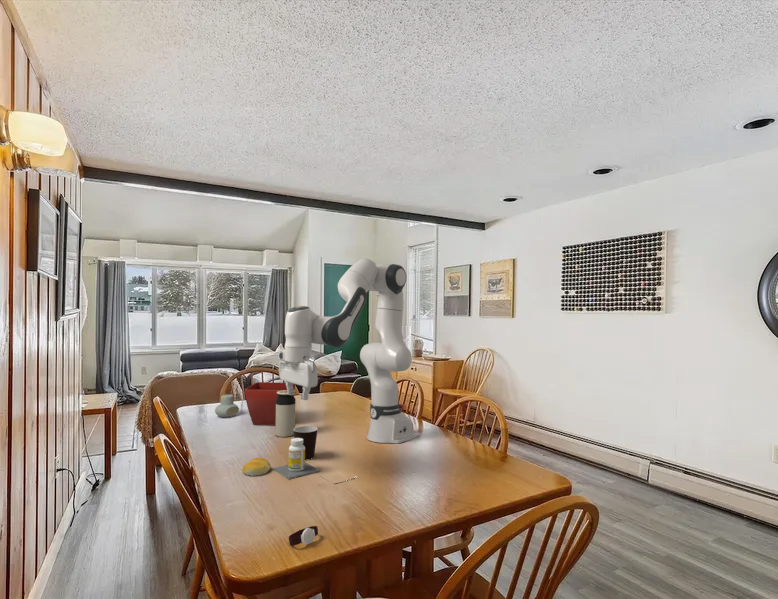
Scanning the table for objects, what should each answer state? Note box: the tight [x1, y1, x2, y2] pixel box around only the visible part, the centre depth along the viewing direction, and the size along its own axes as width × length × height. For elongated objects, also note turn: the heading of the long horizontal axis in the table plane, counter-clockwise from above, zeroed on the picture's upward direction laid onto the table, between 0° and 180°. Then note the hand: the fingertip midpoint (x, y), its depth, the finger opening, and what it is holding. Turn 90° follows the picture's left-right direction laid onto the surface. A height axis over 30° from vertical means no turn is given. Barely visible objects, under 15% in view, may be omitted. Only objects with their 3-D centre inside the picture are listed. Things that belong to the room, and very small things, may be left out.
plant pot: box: [244, 381, 296, 426], centre depth 211 cm, size 19×19×17 cm
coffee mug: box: [293, 425, 318, 461], centre depth 165 cm, size 12×9×10 cm
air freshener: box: [214, 394, 240, 419], centre depth 221 cm, size 11×8×10 cm
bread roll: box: [241, 457, 271, 477], centre depth 149 cm, size 8×9×4 cm
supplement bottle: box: [287, 437, 306, 471], centre depth 150 cm, size 5×5×10 cm
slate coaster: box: [272, 461, 320, 480], centre depth 150 cm, size 11×11×1 cm
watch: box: [288, 525, 319, 546], centre depth 105 cm, size 8×5×4 cm, turn 139°
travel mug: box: [275, 390, 296, 438], centre depth 191 cm, size 8×8×18 cm
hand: (297, 397), depth 150 cm, fingers open, 8 cm apart
